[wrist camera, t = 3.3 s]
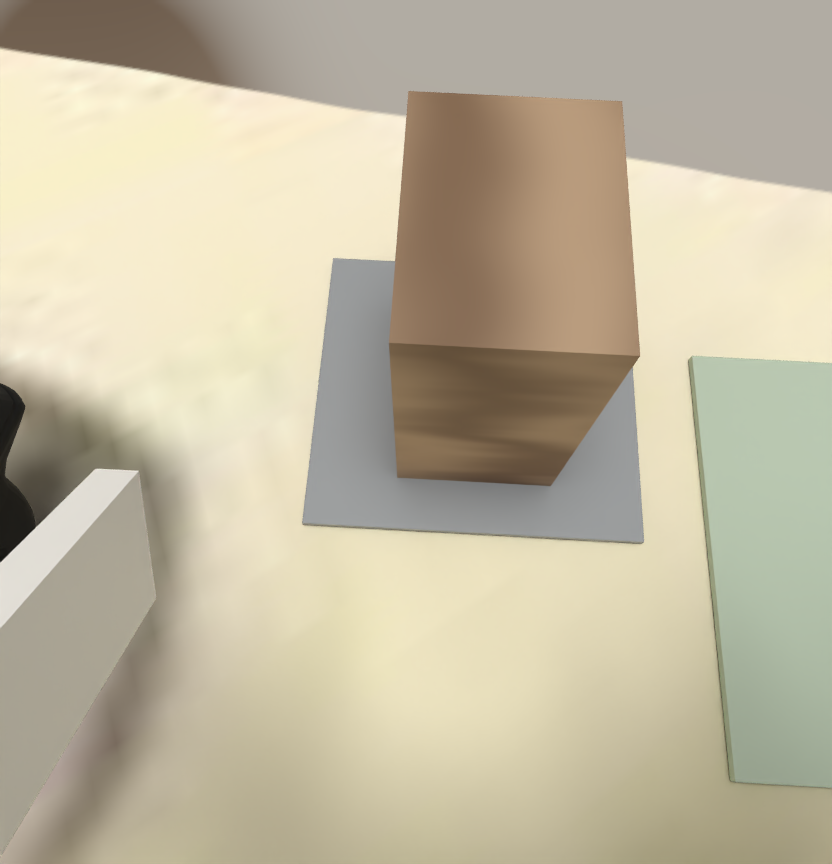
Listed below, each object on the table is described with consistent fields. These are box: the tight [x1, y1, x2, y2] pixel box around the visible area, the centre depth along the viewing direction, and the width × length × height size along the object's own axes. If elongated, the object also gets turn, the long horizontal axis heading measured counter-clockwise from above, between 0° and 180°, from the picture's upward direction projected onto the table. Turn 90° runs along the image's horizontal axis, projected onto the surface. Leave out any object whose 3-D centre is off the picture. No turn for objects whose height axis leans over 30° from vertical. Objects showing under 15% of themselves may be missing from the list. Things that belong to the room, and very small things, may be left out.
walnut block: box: [389, 91, 640, 486], centre depth 23 cm, size 6×8×11 cm
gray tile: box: [302, 258, 644, 544], centre depth 28 cm, size 13×12×1 cm
